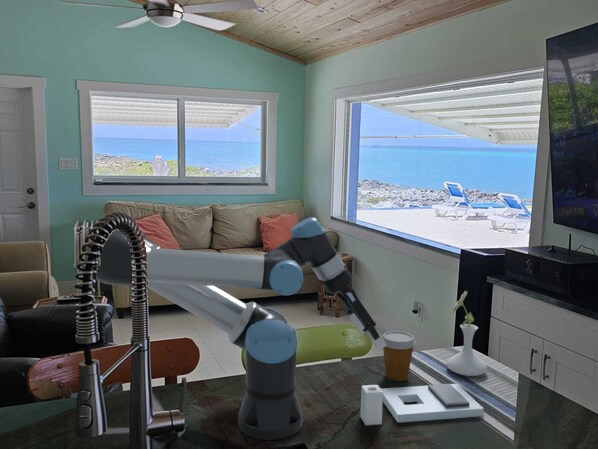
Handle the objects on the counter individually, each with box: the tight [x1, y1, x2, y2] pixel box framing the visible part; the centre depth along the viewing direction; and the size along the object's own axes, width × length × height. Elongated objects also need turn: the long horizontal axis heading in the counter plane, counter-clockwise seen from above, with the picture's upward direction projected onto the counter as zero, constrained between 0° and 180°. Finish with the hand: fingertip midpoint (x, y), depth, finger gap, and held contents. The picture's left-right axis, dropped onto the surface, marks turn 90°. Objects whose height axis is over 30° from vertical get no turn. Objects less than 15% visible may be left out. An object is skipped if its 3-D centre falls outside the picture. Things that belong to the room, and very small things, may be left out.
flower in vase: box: [446, 290, 488, 377], centre depth 155 cm, size 13×11×25 cm
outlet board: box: [380, 383, 485, 423], centre depth 135 cm, size 22×14×2 cm, turn 100°
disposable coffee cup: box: [382, 330, 416, 382], centre depth 152 cm, size 10×10×12 cm
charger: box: [360, 384, 383, 426], centre depth 127 cm, size 4×4×8 cm
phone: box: [427, 383, 469, 408], centre depth 136 cm, size 6×11×1 cm, turn 10°
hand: (373, 339), depth 140 cm, fingers open, 13 cm apart
